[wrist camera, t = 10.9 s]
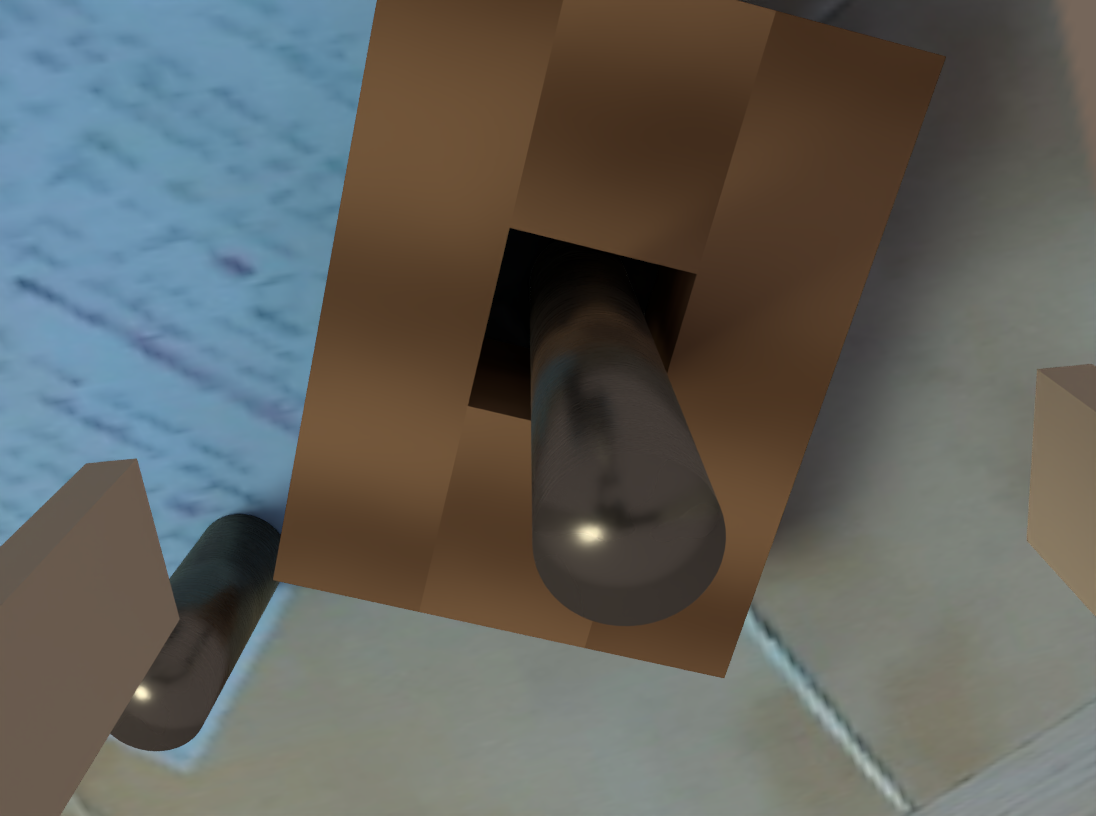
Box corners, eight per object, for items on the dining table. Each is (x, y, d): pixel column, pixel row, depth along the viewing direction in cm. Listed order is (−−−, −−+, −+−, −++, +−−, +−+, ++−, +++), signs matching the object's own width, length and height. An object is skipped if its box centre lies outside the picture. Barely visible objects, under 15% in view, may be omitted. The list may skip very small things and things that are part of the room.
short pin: (207, 504, 33) (99, 640, 25) (295, 526, 33) (215, 668, 25) (192, 581, 33) (84, 736, 26) (279, 603, 34) (196, 762, 26)
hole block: (427, -66, 27) (393, -93, 21) (867, 51, 28) (946, 56, 22) (322, 484, 32) (273, 579, 27) (695, 568, 33) (724, 678, 28)
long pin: (542, 224, 30) (558, 433, 15) (637, 247, 30) (750, 476, 15) (519, 318, 30) (512, 604, 15) (612, 339, 31) (694, 643, 16)
